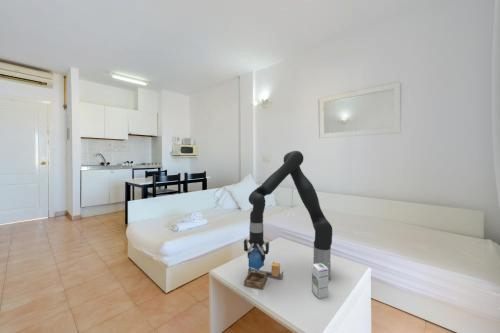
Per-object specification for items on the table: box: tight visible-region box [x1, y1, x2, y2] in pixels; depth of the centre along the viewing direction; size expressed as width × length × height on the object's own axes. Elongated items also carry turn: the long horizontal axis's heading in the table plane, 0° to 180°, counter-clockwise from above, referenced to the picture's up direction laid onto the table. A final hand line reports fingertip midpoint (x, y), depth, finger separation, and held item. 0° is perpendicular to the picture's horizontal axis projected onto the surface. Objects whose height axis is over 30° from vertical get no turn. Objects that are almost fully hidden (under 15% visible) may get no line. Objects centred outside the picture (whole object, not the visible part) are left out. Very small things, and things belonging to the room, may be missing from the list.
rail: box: [247, 266, 284, 281], centre depth 121 cm, size 20×4×2 cm, turn 72°
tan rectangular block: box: [265, 261, 281, 277], centre depth 120 cm, size 8×4×6 cm, turn 72°
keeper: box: [243, 271, 268, 291], centre depth 113 cm, size 10×10×3 cm
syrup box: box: [311, 263, 329, 299], centre depth 104 cm, size 6×6×14 cm
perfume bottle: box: [248, 245, 265, 270], centre depth 113 cm, size 6×6×12 cm
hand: (256, 259), depth 113 cm, fingers closed on perfume bottle, 7 cm apart
